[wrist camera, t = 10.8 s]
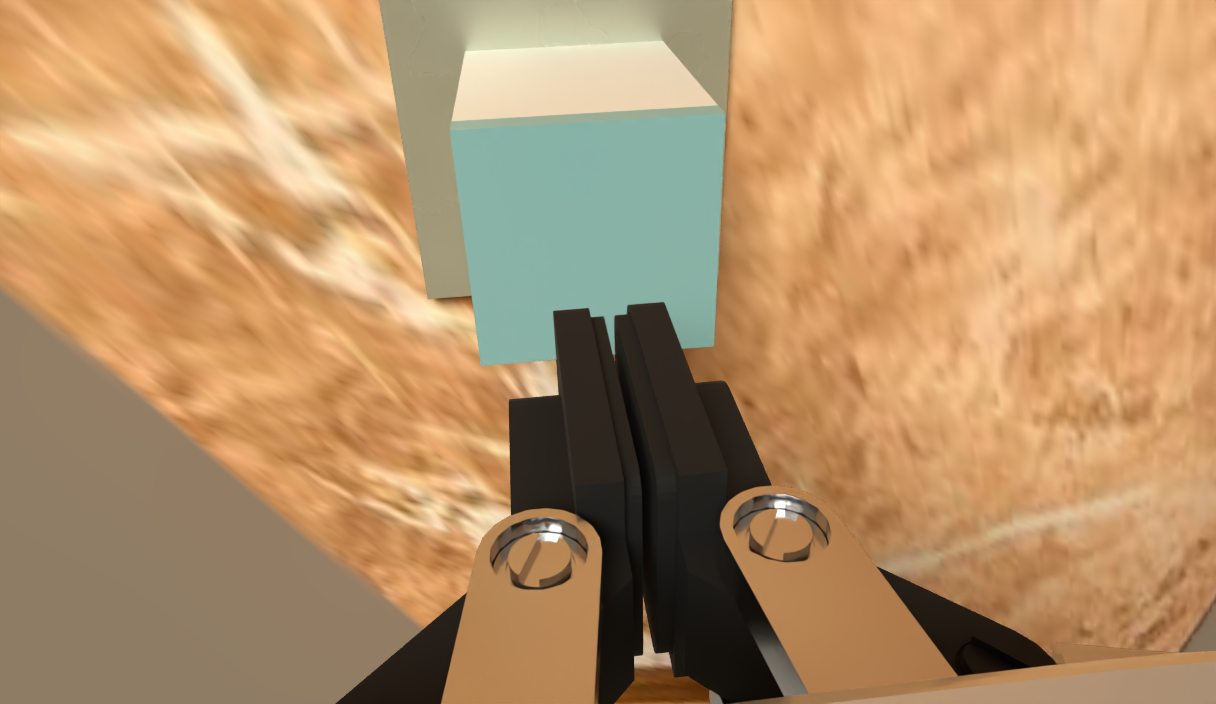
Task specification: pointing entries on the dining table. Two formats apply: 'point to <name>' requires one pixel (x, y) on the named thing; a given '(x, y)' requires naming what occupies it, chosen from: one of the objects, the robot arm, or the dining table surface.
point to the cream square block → (511, 19)
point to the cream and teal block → (586, 191)
